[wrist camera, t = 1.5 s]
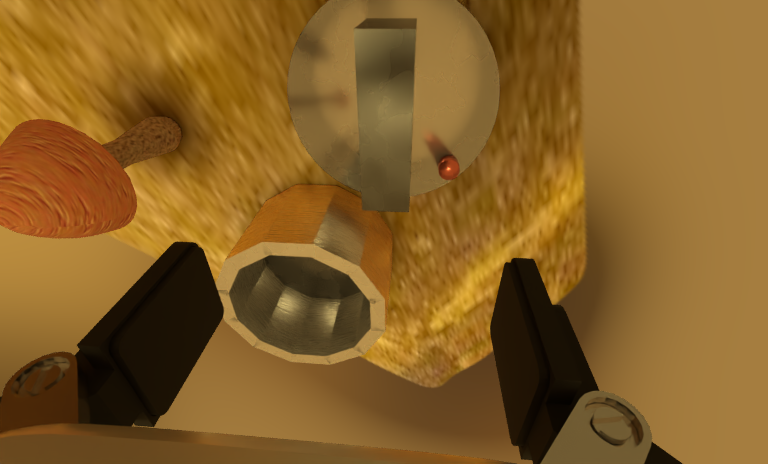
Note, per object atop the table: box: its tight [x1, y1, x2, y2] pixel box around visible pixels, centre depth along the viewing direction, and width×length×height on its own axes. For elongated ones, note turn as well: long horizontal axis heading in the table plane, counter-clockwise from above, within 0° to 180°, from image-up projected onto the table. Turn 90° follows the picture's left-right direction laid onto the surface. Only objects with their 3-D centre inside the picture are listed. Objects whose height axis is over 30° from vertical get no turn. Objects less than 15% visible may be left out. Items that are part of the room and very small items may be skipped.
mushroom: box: [0, 117, 182, 238], centre depth 26 cm, size 8×8×15 cm
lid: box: [287, 0, 500, 212], centre depth 25 cm, size 15×15×8 cm
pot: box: [216, 184, 393, 365], centre depth 34 cm, size 14×14×9 cm
